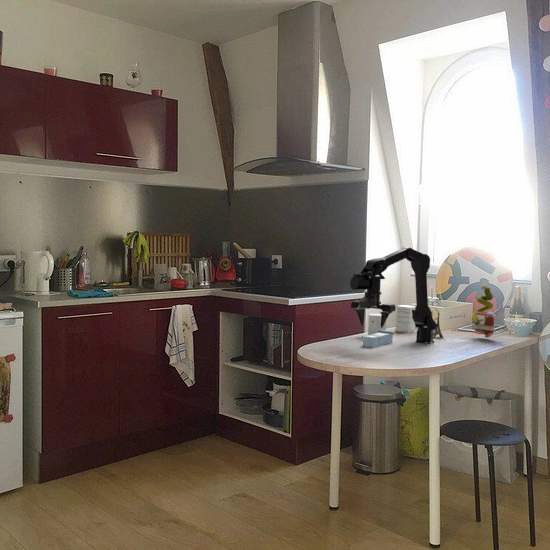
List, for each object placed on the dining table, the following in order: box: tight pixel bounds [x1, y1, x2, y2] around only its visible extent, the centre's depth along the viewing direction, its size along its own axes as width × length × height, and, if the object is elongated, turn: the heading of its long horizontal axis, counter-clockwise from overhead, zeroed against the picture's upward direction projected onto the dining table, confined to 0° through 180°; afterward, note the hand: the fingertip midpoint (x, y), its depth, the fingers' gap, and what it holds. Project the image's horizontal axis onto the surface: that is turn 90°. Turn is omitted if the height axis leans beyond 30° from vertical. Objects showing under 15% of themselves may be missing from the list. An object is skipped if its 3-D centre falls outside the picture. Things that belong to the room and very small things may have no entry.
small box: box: [367, 313, 387, 336], centre depth 295 cm, size 8×6×10 cm
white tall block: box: [395, 304, 416, 334], centre depth 316 cm, size 7×7×13 cm
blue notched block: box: [370, 330, 396, 347], centre depth 279 cm, size 7×13×5 cm, turn 144°
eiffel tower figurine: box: [433, 312, 454, 341], centre depth 299 cm, size 15×10×13 cm
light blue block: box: [362, 334, 380, 348], centre depth 271 cm, size 5×5×4 cm
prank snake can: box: [471, 284, 495, 338], centre depth 300 cm, size 12×10×25 cm
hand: (371, 326), depth 271 cm, fingers open, 9 cm apart
